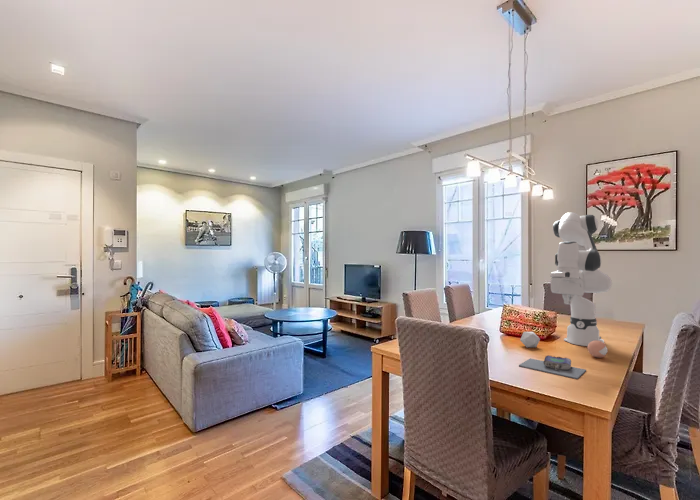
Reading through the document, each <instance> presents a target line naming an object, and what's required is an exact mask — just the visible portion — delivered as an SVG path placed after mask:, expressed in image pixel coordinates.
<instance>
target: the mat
mask: <svg viewBox="0 0 700 500" xmlns="http://www.w3.org/2000/svg"><path fill="white" fill-rule="evenodd" d="M543 362H544V360H540V359H535V358H528V359H527V360H525V361H524V362H521V363H519V364H518V367H521V368H526V369H529V370H534V371H539V372H543V373H547V374H552V375H557V376H561V377H565V378H571V379H574V380H578V379H580V378H581V377H582V376H583V374H585V373H586V372H587V369H584V368H579V367H575V366H571V368H570V369H568V370H560V369H559V370H558V369H557V370H556V369H554V368H550V367H547V366H545V365H544V363H543Z"/></svg>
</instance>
